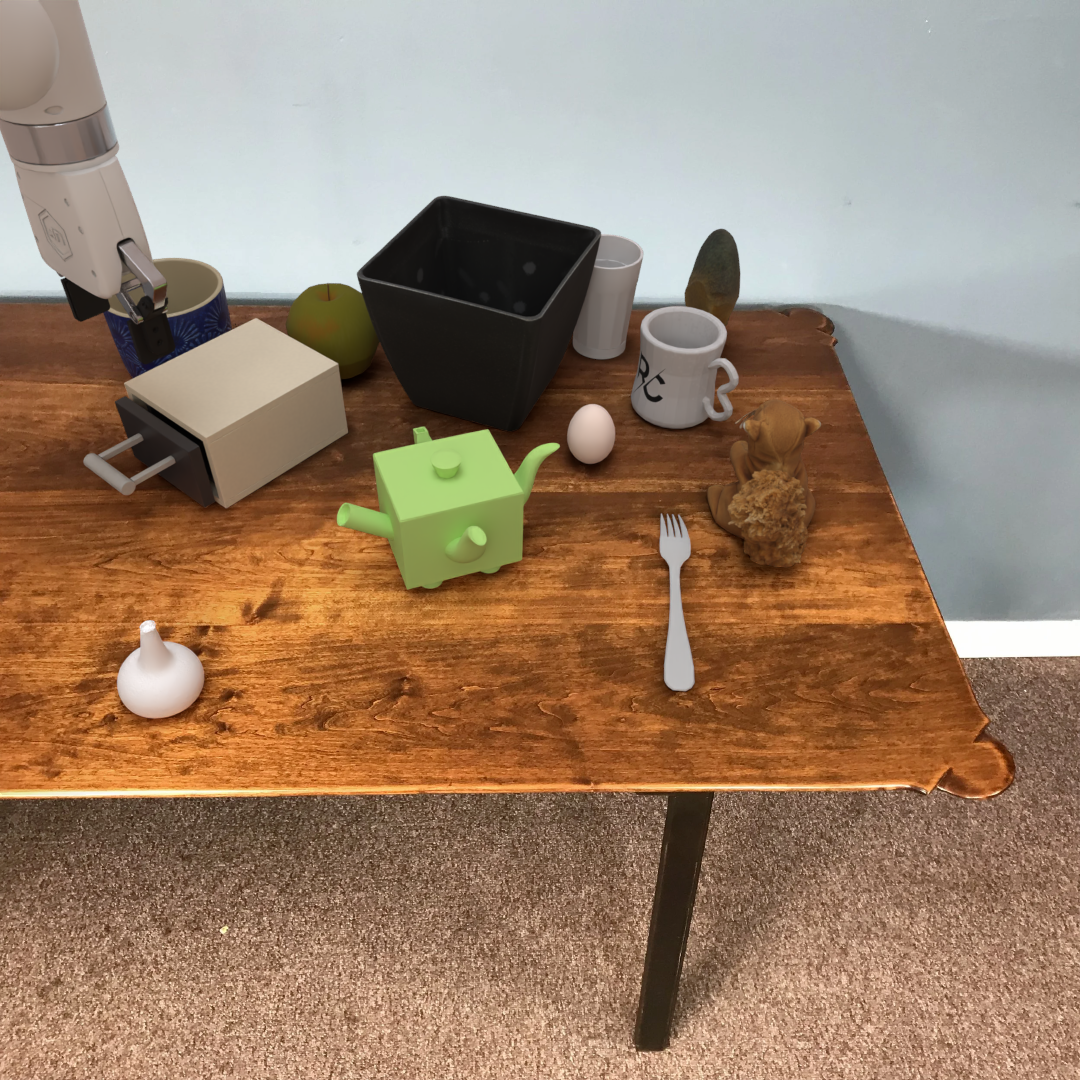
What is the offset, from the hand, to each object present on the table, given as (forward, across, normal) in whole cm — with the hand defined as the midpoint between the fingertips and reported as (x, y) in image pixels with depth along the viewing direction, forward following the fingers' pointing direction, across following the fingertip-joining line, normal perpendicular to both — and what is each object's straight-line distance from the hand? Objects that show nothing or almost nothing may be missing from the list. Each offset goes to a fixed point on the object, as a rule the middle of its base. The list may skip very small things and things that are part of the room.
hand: (125, 335), depth 79 cm
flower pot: (+16, +13, +32) cm, 38 cm away
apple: (+16, -2, +24) cm, 29 cm away
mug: (+16, +32, +43) cm, 56 cm away
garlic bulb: (+16, +22, -15) cm, 31 cm away
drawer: (+15, +1, +3) cm, 16 cm away
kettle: (+16, +28, +11) cm, 34 cm away
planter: (+16, -14, +11) cm, 24 cm away
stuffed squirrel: (+16, +48, +32) cm, 60 cm away
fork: (+16, +46, +20) cm, 53 cm away
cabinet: (+16, +1, +8) cm, 18 cm away
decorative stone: (+16, +27, +55) cm, 63 cm away
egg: (+16, +29, +30) cm, 45 cm away
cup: (+16, +17, +48) cm, 53 cm away
